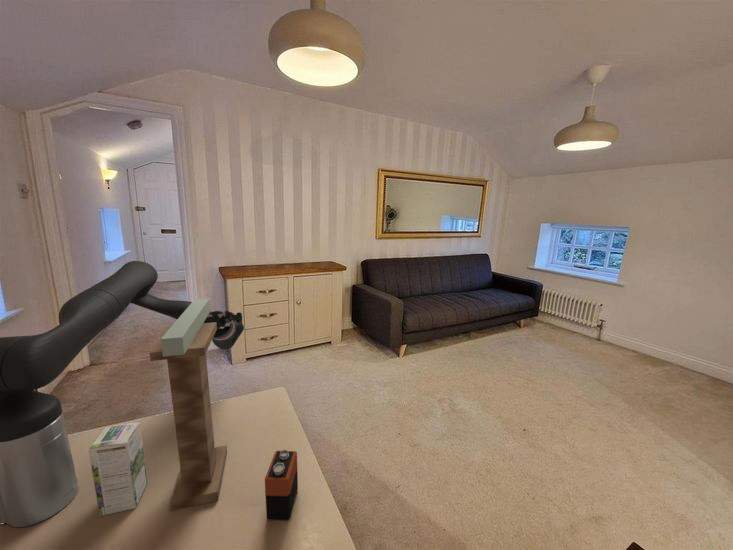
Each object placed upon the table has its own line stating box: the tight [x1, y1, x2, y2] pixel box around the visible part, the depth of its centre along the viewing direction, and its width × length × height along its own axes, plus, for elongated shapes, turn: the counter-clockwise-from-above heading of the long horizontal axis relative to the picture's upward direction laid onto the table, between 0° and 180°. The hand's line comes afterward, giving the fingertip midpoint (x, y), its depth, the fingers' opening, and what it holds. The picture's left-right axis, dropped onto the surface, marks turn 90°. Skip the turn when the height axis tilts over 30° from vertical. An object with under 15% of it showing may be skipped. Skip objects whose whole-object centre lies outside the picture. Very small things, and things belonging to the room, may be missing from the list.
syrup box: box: [88, 422, 148, 517], centre depth 56 cm, size 6×6×14 cm
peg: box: [160, 297, 212, 357], centre depth 58 cm, size 3×22×3 cm, turn 17°
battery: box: [264, 449, 299, 521], centre depth 57 cm, size 4×7×10 cm, turn 179°
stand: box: [149, 322, 228, 512], centre depth 59 cm, size 8×12×32 cm, turn 17°
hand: (207, 315), depth 73 cm, fingers open, 8 cm apart
